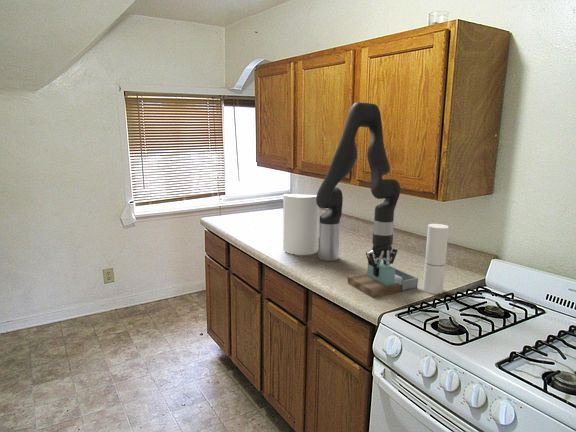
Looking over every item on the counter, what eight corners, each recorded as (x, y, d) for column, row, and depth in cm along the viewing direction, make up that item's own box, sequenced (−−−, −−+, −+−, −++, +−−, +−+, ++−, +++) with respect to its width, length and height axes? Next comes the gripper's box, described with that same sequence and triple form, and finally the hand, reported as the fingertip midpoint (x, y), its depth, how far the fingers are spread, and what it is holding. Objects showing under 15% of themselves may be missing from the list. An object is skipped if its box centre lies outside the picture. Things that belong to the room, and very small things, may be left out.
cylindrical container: (438, 286, 160) (444, 223, 155) (445, 293, 153) (452, 228, 148) (420, 286, 160) (425, 223, 155) (426, 293, 153) (432, 228, 148)
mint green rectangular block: (367, 275, 164) (367, 261, 163) (374, 274, 166) (375, 260, 165) (386, 285, 154) (387, 270, 153) (394, 284, 155) (395, 269, 154)
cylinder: (315, 256, 197) (316, 198, 191) (279, 253, 200) (280, 196, 194) (319, 246, 213) (321, 192, 207) (287, 244, 216) (287, 191, 211)
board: (347, 282, 163) (347, 276, 163) (374, 277, 169) (374, 272, 168) (373, 297, 149) (373, 291, 149) (400, 291, 155) (401, 285, 154)
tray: (374, 277, 169) (375, 268, 168) (389, 274, 173) (390, 265, 172) (401, 291, 155) (402, 281, 154) (417, 288, 159) (418, 278, 158)
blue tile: (386, 280, 159) (387, 275, 159) (394, 279, 161) (395, 274, 161) (393, 283, 156) (394, 278, 155) (401, 282, 157) (402, 277, 157)
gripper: (391, 228, 162) (388, 269, 166) (361, 231, 156) (359, 275, 160) (404, 232, 156) (401, 275, 159) (374, 236, 150) (371, 281, 153)
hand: (380, 275), depth 160 cm, fingers closed on mint green rectangular block, 3 cm apart
